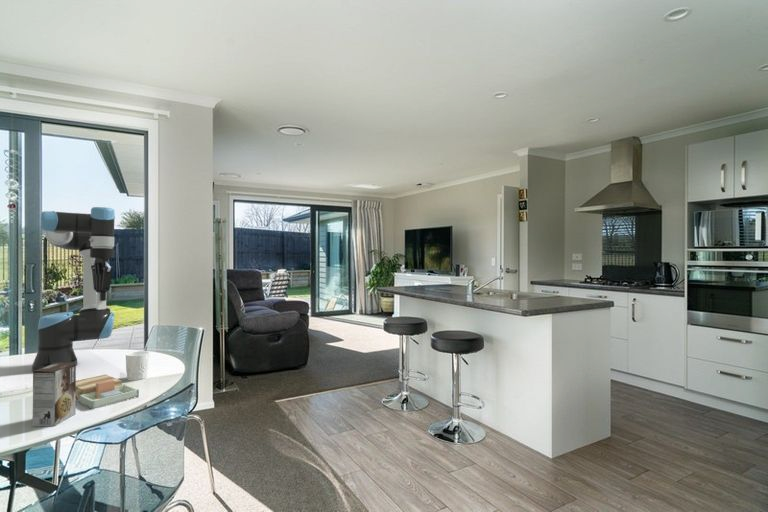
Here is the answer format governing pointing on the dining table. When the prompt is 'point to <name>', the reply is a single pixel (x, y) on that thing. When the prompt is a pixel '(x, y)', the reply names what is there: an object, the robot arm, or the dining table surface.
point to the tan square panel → (92, 384)
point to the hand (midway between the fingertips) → (101, 309)
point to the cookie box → (54, 394)
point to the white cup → (137, 365)
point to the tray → (93, 402)
